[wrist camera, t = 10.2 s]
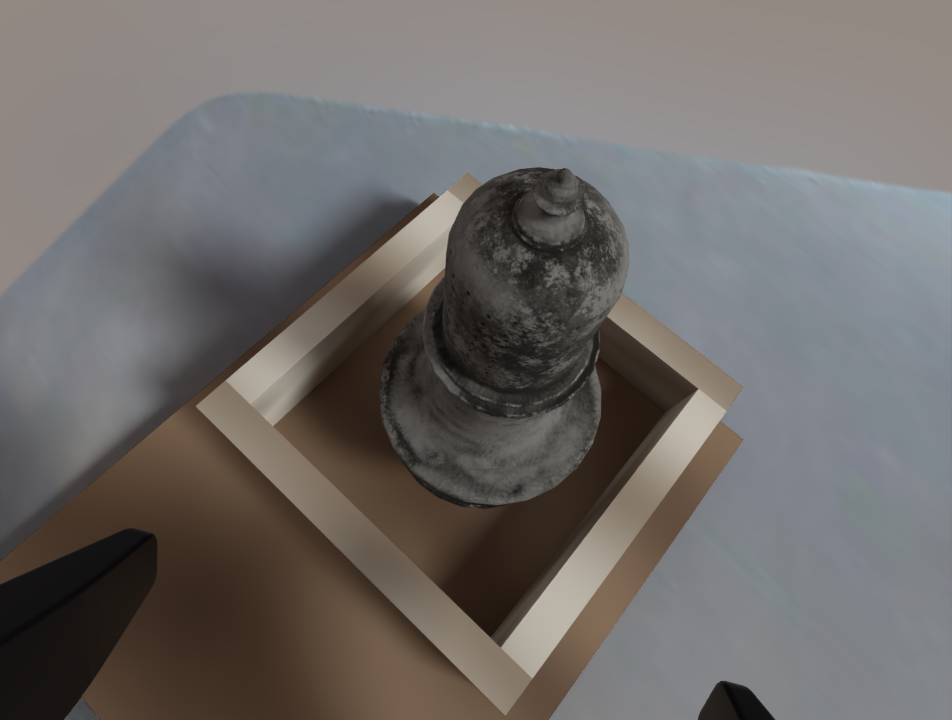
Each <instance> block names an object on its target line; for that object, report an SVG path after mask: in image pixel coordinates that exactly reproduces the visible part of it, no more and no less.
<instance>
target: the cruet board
mask: <svg viewBox="0 0 952 720" xmlns="http://www.w3.org/2000/svg"><path fill="white" fill-rule="evenodd" d="M482 185H483V184H481V183H480V182H479V181H478V180H476V179H475V178H474V177H472V176H471V175H470V174H469V173H467V174H466V175H465V176H464V177H462V178H461V179H460V180H459V181H458V182H457V183H455V184H454V185H453V186H452V187H451V188H450V189H448V190H447V191H446V192H445V193H444V194H443V195H441V196H440V197H438V196H437V195H436V194H435V193H433V194H432V195H431V196H429V197H428V198H427V199H426V200H425V201H424V202H422V203H421V204H420V205H419V206H418V207H417V208H415V209H414V210H413V211H412V212H411V213H409V214H408V215H407V216H406V217H405V218H404V219H402V220H401V221H400V222H399V223H398V224H397V225H395V226H394V227H393V228H392V229H391V230H389V231H388V232H387V233H386V234H385V235H384V236H382V237H381V238H380V239H379V240H378V241H376V242H375V243H374V244H373V245H372V246H371V247H369V248H368V249H367V250H366V251H365V252H364V253H362V254H361V255H360V256H359V257H358V258H356V259H355V260H354V261H353V262H352V263H351V264H349V265H348V266H347V267H346V268H345V269H344V270H342V271H341V272H340V273H339V274H338V275H336V276H335V277H334V278H333V279H332V280H331V281H329V282H328V283H327V284H326V285H325V286H324V287H322V288H321V289H320V290H319V291H318V292H316V293H315V294H314V295H313V296H312V297H311V298H309V299H308V300H307V301H306V302H305V303H303V304H302V305H301V306H300V307H299V308H298V309H296V310H295V311H294V312H293V313H292V314H291V315H289V316H288V317H287V318H286V319H285V320H283V321H282V322H281V323H280V324H279V325H278V326H276V327H275V328H274V329H273V330H272V331H271V332H269V333H268V334H267V335H266V336H265V337H263V338H262V339H261V340H260V341H259V342H258V343H256V344H255V345H254V346H253V347H252V348H250V349H249V350H248V351H247V352H246V353H245V354H243V355H242V356H241V357H240V358H239V359H238V360H236V361H235V362H234V363H233V364H232V365H230V366H229V367H228V368H227V369H226V370H225V371H223V372H222V373H221V374H220V375H219V376H218V377H216V378H215V379H214V380H213V381H212V382H210V383H209V384H208V385H207V386H206V387H205V388H203V389H202V390H201V391H200V392H199V393H198V394H196V395H195V396H194V397H193V398H192V399H190V400H189V401H188V402H187V403H186V404H185V405H183V406H182V407H181V408H180V409H179V410H177V411H176V412H175V413H174V414H173V415H172V416H170V417H169V418H168V419H167V420H166V421H165V422H163V423H162V424H161V425H160V426H159V427H157V428H156V429H155V430H154V431H153V432H152V433H150V434H149V435H148V436H147V437H146V438H145V439H143V440H142V441H141V442H140V443H139V444H137V445H136V446H135V447H134V448H133V449H132V450H130V451H129V452H128V453H127V454H126V455H124V456H123V457H122V458H121V459H120V460H119V461H117V462H116V463H115V464H114V465H113V466H112V467H110V468H109V469H108V470H107V471H106V472H104V473H103V474H102V475H101V476H100V477H99V478H97V479H96V480H95V481H94V482H93V483H92V484H90V485H89V486H88V487H87V488H86V489H84V490H83V491H82V492H81V493H80V494H79V495H77V496H76V497H75V498H74V499H73V500H72V501H70V502H69V503H68V504H67V505H66V506H64V507H63V508H62V509H61V510H60V511H59V512H57V513H56V514H55V515H54V516H53V517H51V518H50V519H49V520H48V521H47V522H46V523H44V524H43V525H42V526H41V527H40V528H39V529H37V530H36V531H35V532H34V533H33V534H31V535H30V536H29V537H28V538H27V539H26V540H24V541H23V542H22V543H21V544H20V545H19V546H17V547H16V548H15V549H14V550H13V551H11V552H10V553H9V554H8V555H7V556H6V557H4V558H3V559H2V560H1V561H0V584H1V583H4V582H6V581H8V580H10V579H13V578H15V577H17V576H19V575H22V574H24V573H26V572H29V571H31V570H33V569H35V568H38V567H40V566H42V565H44V564H47V563H49V562H51V561H53V560H56V559H58V558H60V557H62V556H65V555H67V554H69V553H71V552H74V551H76V550H78V549H80V548H83V547H85V546H87V545H89V544H92V543H94V542H96V541H99V540H101V539H103V538H105V537H108V536H110V535H112V534H114V533H117V532H119V531H121V530H124V529H127V528H136V529H140V530H144V531H148V532H152V533H154V534H155V535H156V537H157V541H158V552H157V576H156V580H155V583H154V585H153V587H152V589H151V590H150V592H149V593H148V595H147V597H146V598H145V600H144V601H143V603H142V604H141V606H140V608H139V609H138V611H137V612H136V614H135V616H134V617H133V619H132V620H131V622H130V624H129V625H128V627H127V628H126V630H125V631H124V633H123V635H122V636H121V638H120V639H119V641H118V643H117V644H116V646H115V647H114V649H113V650H112V652H111V654H110V655H109V657H108V658H107V660H106V662H105V663H104V665H103V666H102V668H101V669H100V671H99V672H98V674H97V675H96V677H95V678H94V680H93V681H92V683H91V684H90V686H89V687H88V688H87V690H86V691H85V693H84V694H83V695H82V698H83V699H84V700H85V702H86V703H87V704H88V705H89V706H90V708H91V709H92V710H93V711H94V712H95V714H96V715H97V716H98V717H99V719H100V720H549V719H550V717H551V716H552V714H553V713H554V711H555V710H556V708H557V707H558V706H559V704H560V703H561V701H562V700H563V698H564V697H565V696H566V694H567V693H568V691H569V690H570V688H571V687H572V686H573V684H574V683H575V681H576V680H577V678H578V677H579V675H580V674H581V673H582V671H583V670H584V668H585V667H586V665H587V664H588V663H589V661H590V660H591V658H592V657H593V655H594V654H595V652H596V651H597V650H598V648H599V647H600V645H601V644H602V642H603V641H604V640H605V638H606V637H607V635H608V634H609V632H610V631H611V629H612V628H613V627H614V625H615V624H616V622H617V621H618V619H619V618H620V617H621V615H622V614H623V612H624V611H625V609H626V608H627V606H628V605H629V604H630V602H631V601H632V599H633V598H634V596H635V595H636V594H637V592H638V591H639V589H640V588H641V586H642V585H643V584H644V582H645V581H646V579H647V578H648V576H649V575H650V573H651V572H652V571H653V569H654V568H655V566H656V565H657V563H658V562H659V561H660V559H661V558H662V556H663V555H664V553H665V552H666V550H667V549H668V548H669V546H670V545H671V543H672V542H673V540H674V539H675V538H676V536H677V535H678V533H679V532H680V530H681V529H682V527H683V526H684V525H685V523H686V522H687V520H688V519H689V517H690V516H691V515H692V513H693V512H694V510H695V509H696V507H697V506H698V504H699V503H700V502H701V500H702V499H703V497H704V496H705V494H706V493H707V492H708V490H709V489H710V487H711V486H712V484H713V483H714V482H715V480H716V479H717V477H718V476H719V474H720V473H721V471H722V470H723V469H724V467H725V466H726V464H727V463H728V461H729V460H730V459H731V457H732V456H733V454H734V453H735V451H736V450H737V448H738V447H739V446H740V444H741V443H742V441H743V440H744V439H742V438H741V437H740V436H739V435H737V434H736V433H735V432H733V431H732V430H731V429H730V428H728V427H727V426H726V425H725V424H723V423H722V422H721V421H720V420H721V418H722V417H723V416H724V414H725V413H726V412H727V410H728V409H729V407H730V406H731V405H732V403H733V402H734V401H735V399H736V398H737V396H738V395H739V394H740V392H741V391H742V390H743V388H744V387H743V386H742V385H741V384H739V383H738V382H737V381H735V380H734V379H733V378H732V377H730V376H729V375H728V374H726V373H725V372H724V371H723V370H721V369H720V368H719V367H717V366H716V365H715V364H714V363H712V362H711V361H710V360H708V359H707V358H706V357H705V356H703V355H702V354H701V353H699V352H698V351H697V350H695V349H694V348H693V347H692V346H690V345H689V344H688V343H686V342H685V341H684V340H683V339H681V338H680V337H679V336H677V335H676V334H675V333H674V332H672V331H671V330H670V329H668V328H667V327H666V326H665V325H663V324H662V323H661V322H659V321H658V320H657V319H656V318H654V317H653V316H652V315H650V314H649V313H648V312H646V311H645V310H644V309H643V308H641V307H640V306H639V305H637V304H636V303H635V302H634V301H632V300H631V299H630V298H628V297H627V296H626V295H625V294H623V293H621V296H620V298H619V299H618V301H617V302H616V304H615V305H614V307H613V308H612V310H611V311H610V313H609V314H608V316H607V317H606V318H605V320H604V321H603V323H602V324H601V326H600V351H599V354H598V358H597V361H596V364H595V367H596V371H597V375H598V378H599V382H600V386H601V418H600V421H599V425H598V428H597V431H596V435H595V438H594V441H593V444H592V446H591V447H590V449H589V450H588V452H587V454H586V455H585V457H584V458H583V460H582V461H581V463H580V464H579V466H578V468H577V469H575V470H574V471H573V472H572V473H571V474H570V475H569V476H567V477H566V478H565V479H564V480H563V481H562V482H560V483H559V484H558V485H557V486H556V487H555V488H553V489H551V490H548V491H546V492H544V493H542V494H540V495H538V496H536V497H533V498H531V499H529V500H527V501H521V502H515V503H510V504H507V505H505V506H499V507H493V508H487V509H478V508H468V507H460V506H458V505H455V504H453V503H450V502H448V501H445V500H443V499H440V498H438V497H437V496H436V495H434V494H433V493H432V492H430V491H429V490H428V489H426V488H425V487H424V486H422V485H421V484H420V482H419V481H418V480H417V478H416V477H415V476H414V475H413V473H412V472H411V471H410V469H409V468H408V467H407V466H406V464H405V463H404V462H403V460H402V459H401V458H400V456H399V455H398V454H397V453H396V451H395V450H394V449H393V447H392V445H391V442H390V440H389V437H388V435H387V432H386V430H385V427H384V425H383V422H382V420H381V411H380V402H379V393H378V389H379V383H380V377H381V372H382V366H383V362H384V360H385V358H386V356H387V354H388V351H389V349H390V347H391V345H392V343H393V341H394V339H395V337H396V336H397V335H398V334H399V333H400V332H401V330H402V329H403V328H404V327H405V326H406V325H407V324H408V322H409V321H410V320H411V319H412V318H413V317H414V316H416V315H417V314H419V313H420V312H422V311H423V310H425V307H426V305H427V303H428V301H429V299H430V296H431V294H432V292H433V290H434V288H435V287H436V286H437V284H438V283H439V282H440V281H441V280H442V279H443V277H444V276H445V263H446V251H447V243H448V236H449V232H450V230H451V228H452V225H453V223H454V221H455V219H456V217H457V215H458V213H459V211H460V208H461V206H462V204H463V203H464V202H465V201H466V200H467V199H468V198H469V196H470V195H471V194H472V193H473V192H474V191H475V190H476V189H477V188H479V187H480V186H482Z"/></svg>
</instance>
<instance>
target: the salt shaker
mask: <svg viewBox="0 0 952 720" xmlns="http://www.w3.org/2000/svg"><path fill="white" fill-rule="evenodd" d="M628 268H629V243H628V240H627V237H626V233H625V230H624V226H623V224H622V222H621V221H620V219H619V217H618V216H617V214H616V212H615V211H614V209H613V208H612V206H611V205H610V203H609V202H608V201H607V200H606V199H605V198H604V197H603V196H602V195H601V194H600V193H599V192H598V191H597V190H596V189H595V188H594V187H593V186H591V185H590V184H588V183H587V182H585V181H583V180H582V179H580V178H579V177H577V176H575V175H574V174H572V173H571V171H570V170H568V169H566V168H563V169H557V170H555V169H548V168H540V167H538V168H527V169H519V170H516V171H513V172H510V173H507V174H504V175H501V176H498V177H495V178H493V179H491V180H489V181H488V182H486V183H485V184H483V185H482V186H480V187H479V188H477V189H476V190H475V191H474V192H473V193H472V194H471V195H470V196H469V198H468V199H467V200H466V201H465V202H464V203H463V204H462V206H461V208H460V211H459V213H458V215H457V217H456V219H455V221H454V223H453V225H452V228H451V230H450V232H449V236H448V243H447V251H446V263H445V276H444V277H443V279H442V280H441V281H440V282H439V283H438V284H437V286H436V287H435V288H434V290H433V292H432V294H431V296H430V299H429V301H428V303H427V305H426V307H425V310H423V311H422V312H420V313H419V314H417V315H416V316H414V317H413V318H412V319H411V320H410V321H409V322H408V324H407V325H406V326H405V327H404V328H403V329H402V330H401V332H400V333H399V334H398V335H397V336H396V337H395V339H394V341H393V343H392V345H391V347H390V349H389V351H388V354H387V356H386V358H385V360H384V362H383V366H382V372H381V377H380V383H379V389H378V393H379V402H380V411H381V420H382V422H383V425H384V427H385V430H386V432H387V435H388V437H389V440H390V442H391V445H392V447H393V449H394V450H395V451H396V453H397V454H398V455H399V456H400V458H401V459H402V460H403V462H404V463H405V464H406V466H407V467H408V468H409V469H410V471H411V472H412V473H413V475H414V476H415V477H416V478H417V480H418V481H419V482H420V484H421V485H422V486H424V487H425V488H426V489H428V490H429V491H430V492H432V493H433V494H434V495H436V496H437V497H438V498H440V499H443V500H445V501H448V502H450V503H453V504H455V505H458V506H460V507H468V508H478V509H487V508H493V507H499V506H505V505H507V504H510V503H515V502H521V501H527V500H529V499H531V498H533V497H536V496H538V495H540V494H542V493H544V492H546V491H548V490H551V489H553V488H555V487H556V486H557V485H558V484H559V483H560V482H562V481H563V480H564V479H565V478H566V477H567V476H569V475H570V474H571V473H572V472H573V471H574V470H575V469H577V468H578V466H579V464H580V463H581V461H582V460H583V458H584V457H585V455H586V454H587V452H588V450H589V449H590V447H591V446H592V444H593V441H594V438H595V435H596V431H597V428H598V425H599V421H600V418H601V386H600V382H599V378H598V375H597V371H596V367H595V364H596V361H597V358H598V354H599V351H600V326H601V324H602V323H603V321H604V320H605V318H606V317H607V316H608V314H609V313H610V311H611V310H612V308H613V307H614V305H615V304H616V302H617V301H618V299H619V298H620V296H621V293H622V290H623V287H624V283H625V280H626V277H627V272H628Z"/></svg>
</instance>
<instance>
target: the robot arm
mask: <svg viewBox="0 0 952 720" xmlns="http://www.w3.org/2000/svg"><path fill="white" fill-rule="evenodd" d="M157 552H158V541H157V537H156V535H155V534H154V533H152V532H148V531H144V530H140V529H136V528H127V529H124V530H121V531H119V532H117V533H114V534H112V535H110V536H108V537H105V538H103V539H101V540H99V541H96V542H94V543H92V544H89V545H87V546H85V547H83V548H80V549H78V550H76V551H74V552H71V553H69V554H67V555H65V556H62V557H60V558H58V559H56V560H53V561H51V562H49V563H47V564H44V565H42V566H40V567H38V568H35V569H33V570H31V571H29V572H26V573H24V574H22V575H19V576H17V577H15V578H13V579H10V580H8V581H6V582H4V583H1V584H0V720H64V719H65V718H66V716H67V715H68V714H69V712H70V711H71V710H72V708H73V707H74V706H75V705H76V703H77V702H78V701H79V699H80V698H81V697H82V695H83V694H84V693H85V691H86V690H87V688H88V687H89V686H90V684H91V683H92V681H93V680H94V678H95V677H96V675H97V674H98V672H99V671H100V669H101V668H102V666H103V665H104V663H105V662H106V660H107V658H108V657H109V655H110V654H111V652H112V650H113V649H114V647H115V646H116V644H117V643H118V641H119V639H120V638H121V636H122V635H123V633H124V631H125V630H126V628H127V627H128V625H129V624H130V622H131V620H132V619H133V617H134V616H135V614H136V612H137V611H138V609H139V608H140V606H141V604H142V603H143V601H144V600H145V598H146V597H147V595H148V593H149V592H150V590H151V589H152V587H153V585H154V583H155V580H156V576H157ZM698 720H775V719H774V718H773V716H772V715H771V714H770V713H769V712H768V710H767V709H766V708H765V707H764V706H763V704H762V703H761V702H760V701H759V699H758V698H757V697H756V696H755V695H754V693H753V692H752V691H751V690H750V689H748V688H747V687H745V686H742V685H739V684H735V683H731V682H727V681H720V682H719V683H717V684H716V686H715V687H714V689H713V691H712V692H711V694H710V696H709V698H708V699H707V701H706V703H705V705H704V706H703V708H702V710H701V711H700V714H699V717H698Z"/></svg>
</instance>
